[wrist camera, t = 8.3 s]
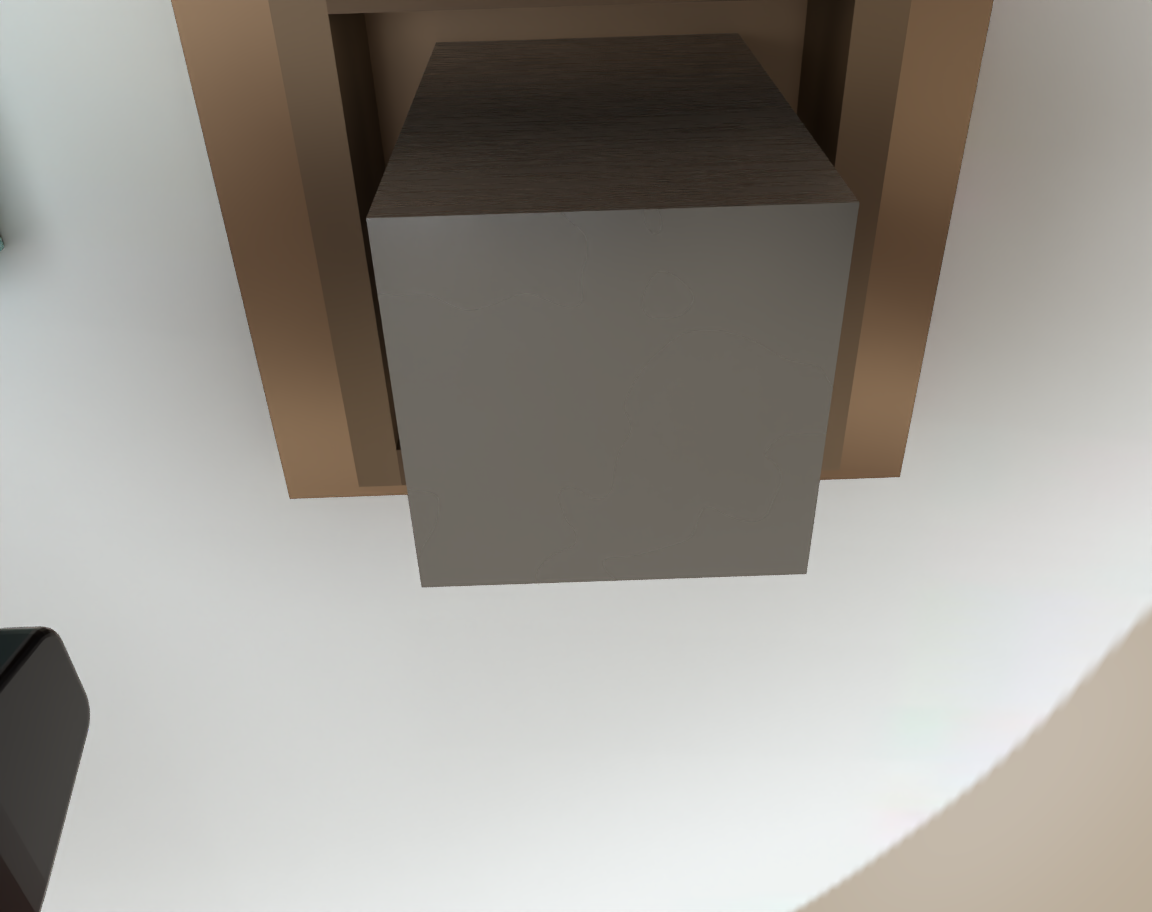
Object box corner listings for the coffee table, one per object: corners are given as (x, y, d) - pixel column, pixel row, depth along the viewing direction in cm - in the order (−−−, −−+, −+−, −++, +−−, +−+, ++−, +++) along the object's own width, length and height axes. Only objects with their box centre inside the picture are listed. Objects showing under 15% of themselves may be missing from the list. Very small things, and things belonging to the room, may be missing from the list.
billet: (720, 306, 17) (806, 573, 12) (462, 315, 17) (420, 587, 12) (738, 33, 15) (859, 201, 9) (436, 42, 15) (366, 218, 9)
